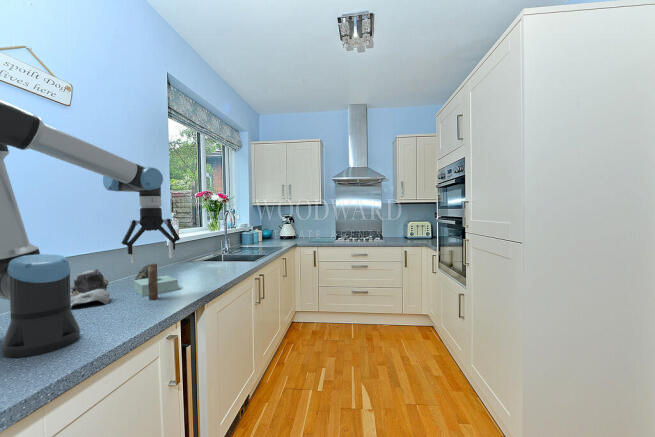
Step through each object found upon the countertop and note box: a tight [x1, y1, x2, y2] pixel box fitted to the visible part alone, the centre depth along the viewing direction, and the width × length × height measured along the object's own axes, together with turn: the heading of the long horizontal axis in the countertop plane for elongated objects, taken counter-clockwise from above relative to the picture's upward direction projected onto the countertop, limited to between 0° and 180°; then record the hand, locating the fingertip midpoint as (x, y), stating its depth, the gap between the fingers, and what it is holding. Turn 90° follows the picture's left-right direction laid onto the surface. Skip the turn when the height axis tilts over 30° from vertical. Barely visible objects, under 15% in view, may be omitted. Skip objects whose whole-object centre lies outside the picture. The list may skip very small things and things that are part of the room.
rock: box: [132, 264, 148, 285], centre depth 144 cm, size 12×10×10 cm
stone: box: [70, 269, 111, 309], centre depth 116 cm, size 14×10×15 cm
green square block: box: [133, 274, 179, 297], centre depth 135 cm, size 14×14×4 cm
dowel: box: [147, 263, 159, 301], centre depth 121 cm, size 3×3×14 cm
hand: (153, 260), depth 121 cm, fingers open, 13 cm apart
